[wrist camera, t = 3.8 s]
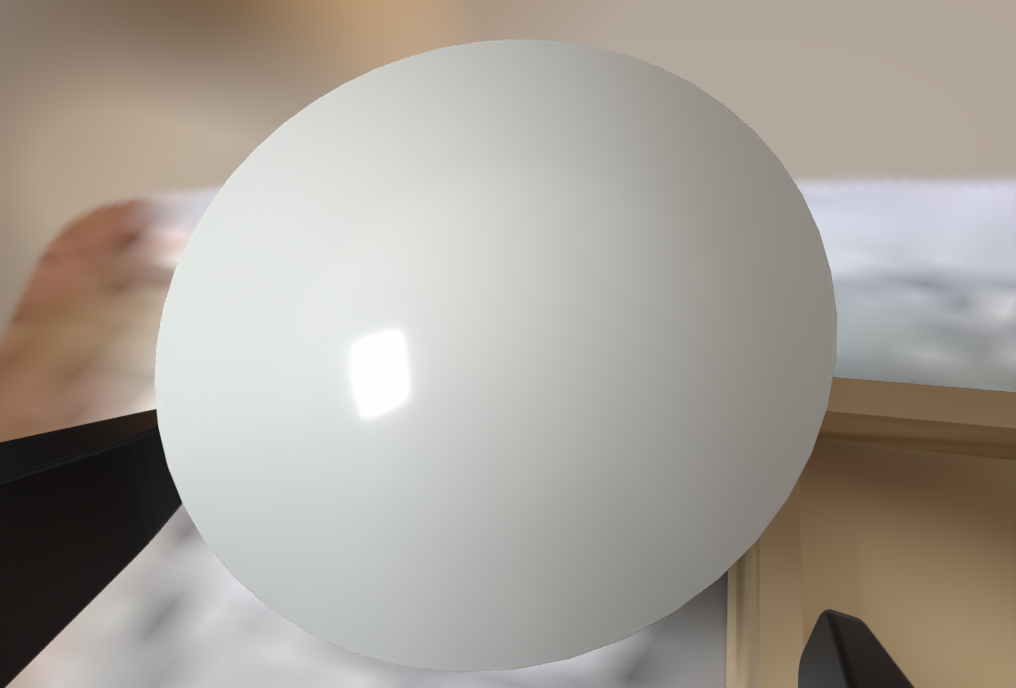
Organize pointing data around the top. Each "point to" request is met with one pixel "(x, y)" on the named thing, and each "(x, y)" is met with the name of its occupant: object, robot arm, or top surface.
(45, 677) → the top surface
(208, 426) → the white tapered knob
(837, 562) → the open wooden box
